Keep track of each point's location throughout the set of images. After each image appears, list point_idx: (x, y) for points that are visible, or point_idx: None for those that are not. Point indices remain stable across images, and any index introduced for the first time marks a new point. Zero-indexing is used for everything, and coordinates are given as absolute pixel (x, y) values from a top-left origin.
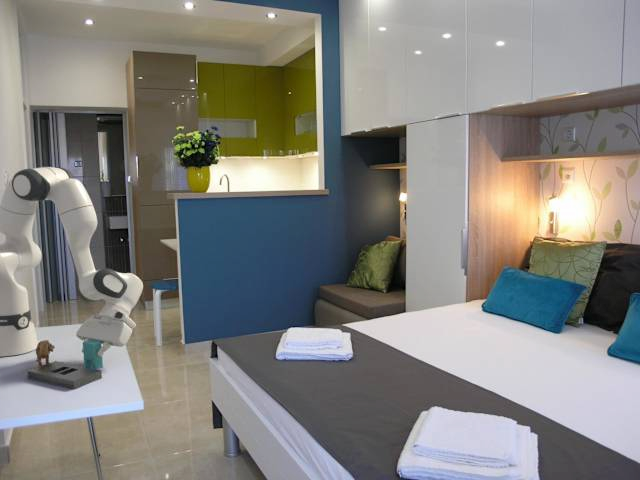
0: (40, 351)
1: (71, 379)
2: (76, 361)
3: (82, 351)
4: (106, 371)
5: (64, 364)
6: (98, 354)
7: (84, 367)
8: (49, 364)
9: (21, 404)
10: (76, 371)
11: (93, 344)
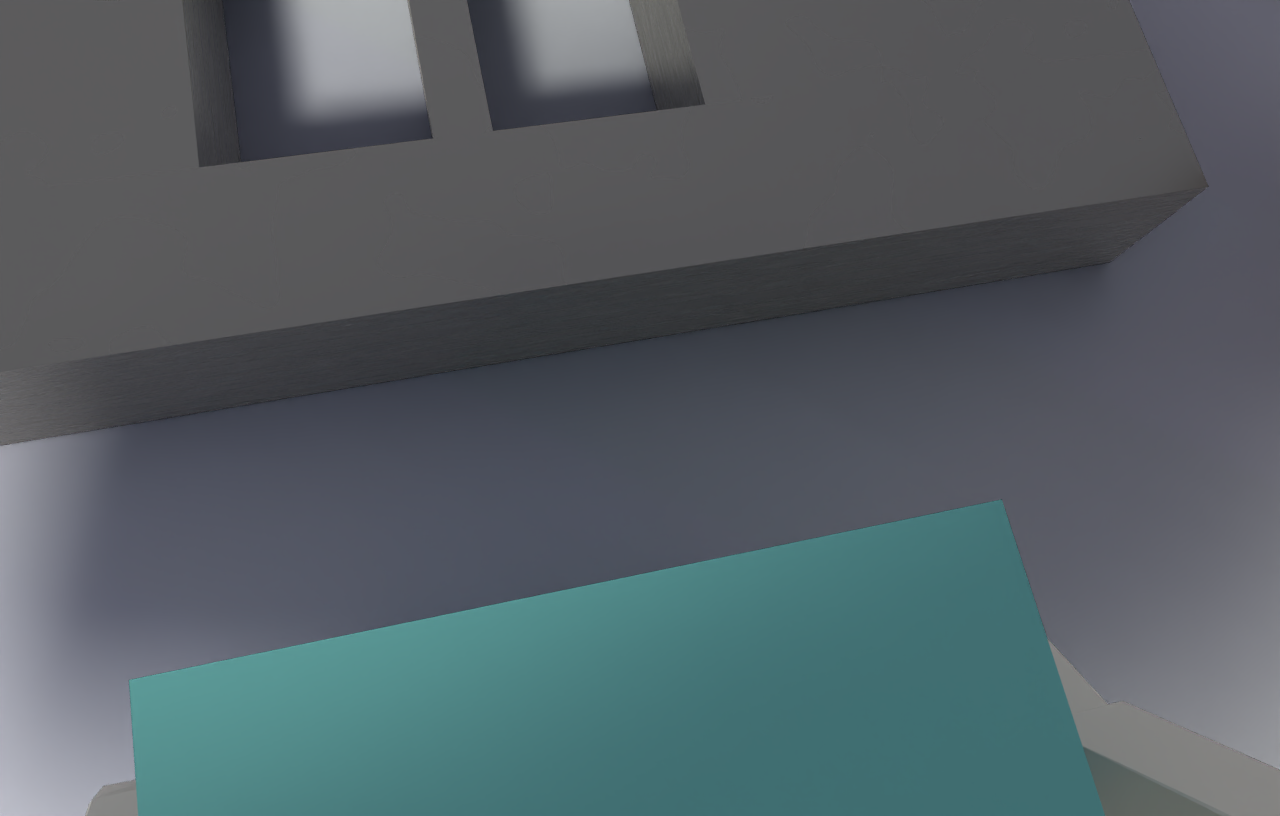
0: None
1: None
2: (1274, 729)
3: None
4: (9, 810)
5: (822, 171)
6: (107, 786)
7: (202, 310)
8: (1071, 21)
9: None
10: (118, 71)
11: (139, 682)
